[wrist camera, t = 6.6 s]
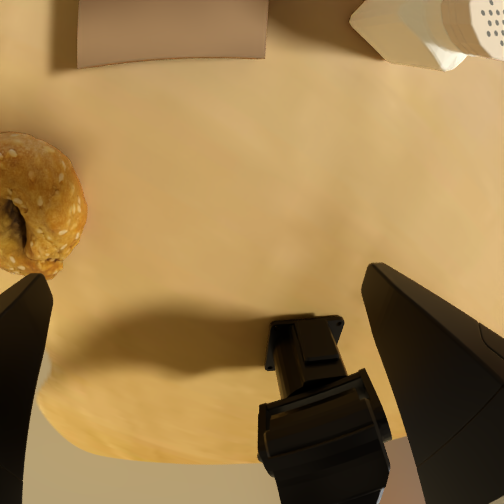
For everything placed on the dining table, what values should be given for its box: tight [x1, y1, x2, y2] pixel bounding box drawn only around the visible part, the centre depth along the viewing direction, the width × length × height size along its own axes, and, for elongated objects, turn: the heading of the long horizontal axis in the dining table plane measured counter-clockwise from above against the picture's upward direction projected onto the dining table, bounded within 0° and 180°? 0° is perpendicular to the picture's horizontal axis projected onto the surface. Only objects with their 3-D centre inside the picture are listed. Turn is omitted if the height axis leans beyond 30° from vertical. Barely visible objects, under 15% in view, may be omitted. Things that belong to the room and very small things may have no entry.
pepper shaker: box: [349, 0, 504, 72], centre depth 11 cm, size 4×4×10 cm
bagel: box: [0, 132, 87, 280], centre depth 16 cm, size 10×11×5 cm
